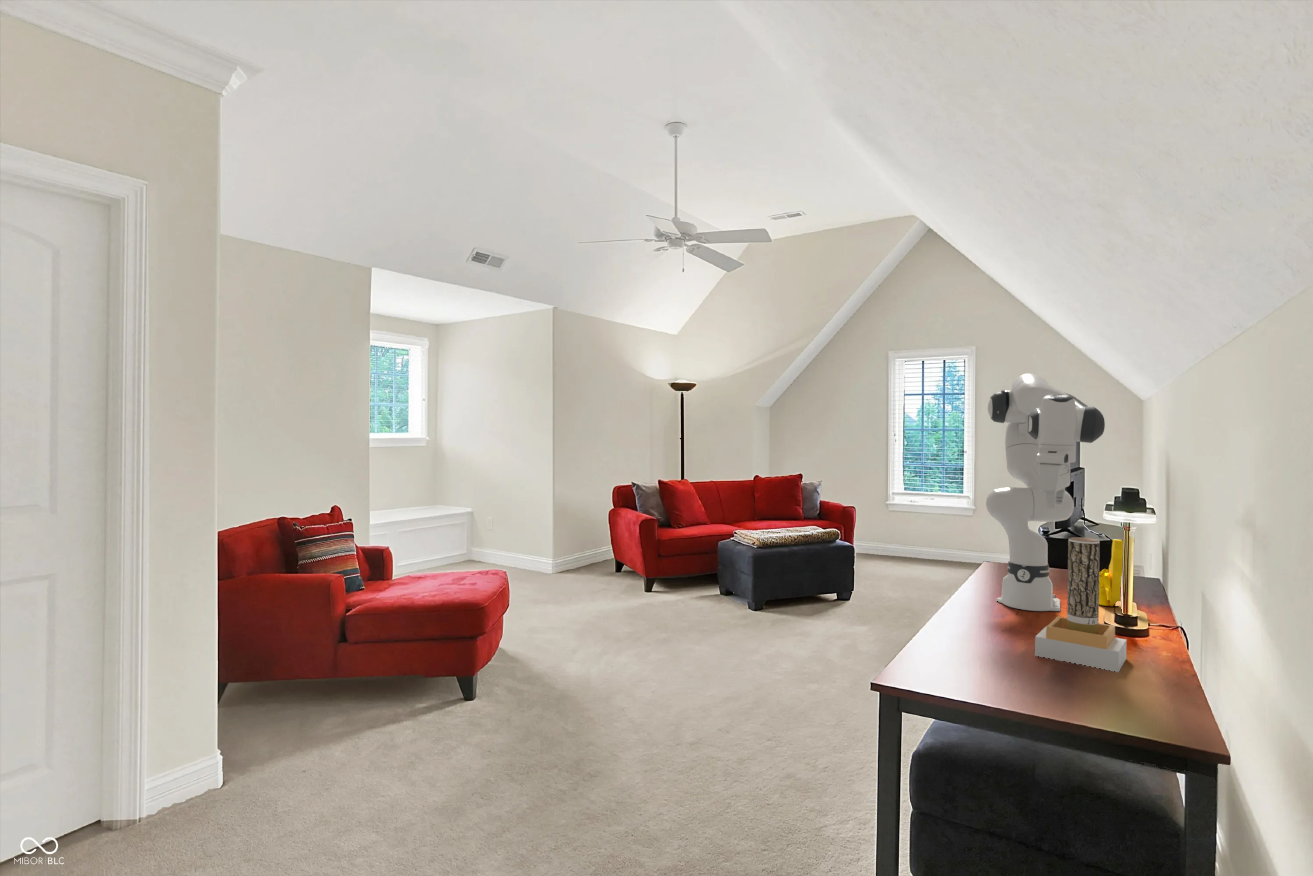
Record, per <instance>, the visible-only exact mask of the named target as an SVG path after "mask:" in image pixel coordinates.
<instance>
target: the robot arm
mask: <svg viewBox="0 0 1313 876" xmlns="http://www.w3.org/2000/svg"><path fill="white" fill-rule="evenodd" d="M1011 386H1012V387H1011V389H1010V390H1005V389H1002V390H1001V391H997V392H996V393H993V394H992V395H991V396H990V398H989V400H988V403H987V412H988V415H989V417H990V420H991V421H993V422H994V423H999V424H1000V423H1001V424H1005V423H1008V424H1007V425H1006V431H1005V438H1004V439H1005V441H1004V444H1005V447H1004V448H1005V458H1006V468H1007V469H1006V470H1007V472H1008V474H1009V475H1011V476H1012V478H1014V479H1016V480H1018V481H1021V482H1022V483H1023V484H1024V485H1025V486H1026V487H1012V486H1007V487H999V488H994V489H992V490H991V491H990V492H989V493H988V495H987V497H986V499H985V500H986V501H985V504H986V505H985V506H986V510H987V512H988V513H989V515H990V516H991V517H992V518H993V519H995V520H996V521H997V522H999V523H1000V524H1001V526H1002V527H1003V529H1004V531H1005V532H1006V535H1007V539H1008V545H1009V547H1008V549H1009V561H1008V562H1007V574H1006V575H1005V576H1004V577H1003V578H1002V584H1001V585H1002V588H1001V596H999V597H996V599H995V601H996V602H997V601H998V603H1001V604H1003V605H1005V606H1007V607H1009V608H1013V609H1018V610H1019V609H1020V610H1023V611H1032V612H1048V611H1049V612H1061V599H1060V598H1057V597H1056V594H1053V592H1054V591H1053V589H1054V587H1053V586H1054V585H1053V582H1052V580H1051V579H1050V577H1049V576H1050V565H1049V563H1048V561H1049V560H1048V556H1049V555H1048V554H1049V553H1048V548H1049V547H1048V546H1049V544H1048V542H1047V540H1046V538H1045V537H1044V536H1042V535H1041V534H1039V533H1038V532H1035V531H1034V530H1031V529H1030V528H1029V522H1038V523H1039V522H1040V523H1041V522H1043V523H1045V522H1046V523H1053V522H1061V521H1066V520H1068V519H1070V517H1071V516H1072V514H1073V512H1074V508H1075V502H1074V499H1073V497H1072V495H1070V493H1069V492H1068V491H1067V490H1066V488H1067V487H1069V486H1070V485H1071V463H1076V462H1077V461H1076V460H1077V458H1076V457H1077V453H1076V452H1077V442H1080V443H1087V444H1091V443H1094V442H1095V441H1096V440H1098V439H1100V437H1102V436H1103V434H1104V431H1105V428H1106V425H1105V424H1106V423H1105V422H1106V421H1105V417H1104V415H1103V413H1102V412H1101V411H1100V410H1099V409H1098V408H1096V407H1095V406H1089V405H1088V404H1086V403H1084V402H1083V401H1081V400H1080V399H1078V398H1077V397H1076V396H1074V395H1073V394H1069V393H1067V392H1065V391H1062V390H1060V389H1058V388H1057V387H1056V388H1055V387H1054V386H1052V385H1050V384H1049V382H1048V381H1046V380H1045V379H1044V378H1043V377H1042V376H1039V375H1038V374H1035V373H1024V374H1020V375H1019V376H1018V377H1016V378H1015V380H1014V381H1013V383H1012V385H1011Z"/></svg>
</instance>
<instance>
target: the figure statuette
mask: <svg viewBox="0 0 1313 876" xmlns="http://www.w3.org/2000/svg"><path fill="white" fill-rule="evenodd" d="M1123 544H1124V541H1123V540H1122V539H1115V538H1114V539H1112V543H1111V558H1110V562H1109V565H1108V569H1106V568H1104V569H1102V570H1101V571H1099V606H1105V607H1113V605H1114V604H1115V603H1116V602H1117V601H1121V598H1120V587H1121V576H1122V577H1123V558H1124V557H1123V556H1124V549H1123Z"/></svg>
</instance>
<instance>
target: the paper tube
mask: <svg viewBox="0 0 1313 876" xmlns="http://www.w3.org/2000/svg"><path fill="white" fill-rule="evenodd" d="M1067 543H1068V544H1067V546H1068V548H1067V551H1068V553H1067V604H1066V605H1067V607H1066V608H1067V610H1066V614H1067V615H1066V618H1067V629H1069V630H1074V631H1080V632H1086V633H1092V634H1098V623H1099V614H1100V613H1099V610H1100V604H1099V572H1100V553H1101V552H1100V547H1101V546H1100V544H1101V543H1100V540H1099V539H1096V538H1091V537H1078V536H1077V537H1075V536H1074V537H1068V541H1067Z"/></svg>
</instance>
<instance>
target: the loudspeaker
mask: <svg viewBox="0 0 1313 876" xmlns="http://www.w3.org/2000/svg"><path fill="white" fill-rule="evenodd" d="M1034 637H1035V638H1034V657H1038V656H1039V657H1038V658H1043V657H1045V658H1044V659H1048V658H1050V659H1049V660H1053V659H1055V660H1054V661H1058V662H1063V661H1066V662H1065V663H1069V662H1071V663H1070V664H1074V663H1076V665H1079V664H1082V665H1081V666H1084V665H1086V666H1085V667H1089V666H1091V667H1090V668H1094V667H1096V668H1095V669H1099V668H1101V669H1100V670H1104V669H1105V670H1106V671H1109V670H1110V672H1114V671H1115V672H1114V673H1119V672H1120V670H1121V669H1122V667H1123V665H1124V664H1125V662H1126V661H1127V640H1128V639H1126V638H1125V639H1124V638H1119V637H1116V625H1112V624H1107V623H1106V624H1105V623H1101V622H1098V634H1092V633H1086V632H1080V631H1074V630H1069V629H1067V617H1064V616H1063V617H1062V616H1056V617H1055V618H1054V619H1053V620H1052V621H1050V623H1049V624H1047V625H1046V626H1045V627H1043V628H1042V630H1040V632H1038V634H1036V635H1035V636H1034Z"/></svg>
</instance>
